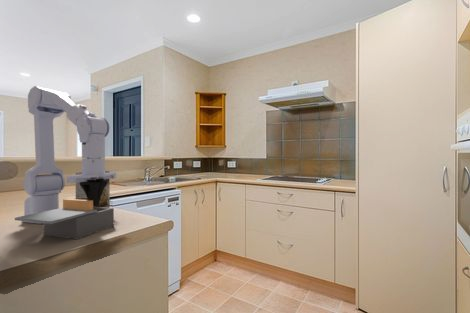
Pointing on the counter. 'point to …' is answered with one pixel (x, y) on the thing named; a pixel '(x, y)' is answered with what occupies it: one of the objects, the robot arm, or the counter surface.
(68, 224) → the grey box
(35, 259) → the counter surface
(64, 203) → the box lid
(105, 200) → the coffee box
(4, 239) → the counter surface
